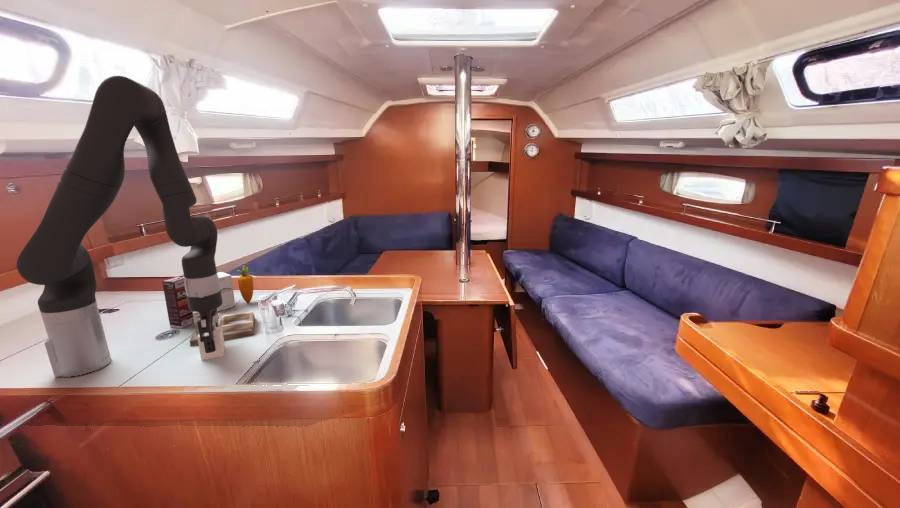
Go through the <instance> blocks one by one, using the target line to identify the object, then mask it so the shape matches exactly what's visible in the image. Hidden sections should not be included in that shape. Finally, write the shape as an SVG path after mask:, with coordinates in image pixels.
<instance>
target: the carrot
mask: <svg viewBox="0 0 900 508" xmlns="http://www.w3.org/2000/svg"><path fill="white" fill-rule="evenodd" d="M248 271H249V267H248V266H247V267H246V265H242V270H240V269H237V270H236V272H238V273H240V274H241V275H240V276H239V277H238V278H237V283H238V288H239V292H240V295H241V297H242V298H243V300H244V301H245V303H246V304H248V303H249V304H250V303H251V302H252V299H253V294H254V277H253V275H251V274H248Z"/></svg>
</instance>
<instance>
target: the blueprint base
mask: <svg viewBox="0 0 900 508" xmlns="http://www.w3.org/2000/svg"><path fill="white" fill-rule="evenodd" d="M198 316H200V315H199V312H193V319H194V323H193V324H194V330H193V332H192V335H191V337H190V340H189V345H190V347H192V346H193V347H194V346H197V345H198V346H199V344H198V338H197V337H198V334H199V329H198V324H197V322H198ZM255 320H256V317H255V314H254V311H253V310H251V311H246V312H238V313H232V314H224V315H221V318H220V319H219V320H218V322H219V323H218V326H222V330H223V336H224V341H227V339H228V340H233V339H238V338H244V337H249V336H253V335H254V334H255V331H254V330H255V322H254V321H255Z"/></svg>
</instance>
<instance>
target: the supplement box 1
mask: <svg viewBox="0 0 900 508" xmlns="http://www.w3.org/2000/svg"><path fill="white" fill-rule="evenodd" d="M161 283H162V288H163V293H164V300H165V305H166V311H167V316H168V322H169V326H170V328H174V329H175V328H176V329H183V328H185V327H187V326H189V325H192V324H194V319H193V311H191V310H189V307H188V301H187V296H186V291H185V279H184V274H182V275H179V276H176V277H172V278H169V279H165V280H162V282H161Z"/></svg>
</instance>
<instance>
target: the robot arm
mask: <svg viewBox="0 0 900 508" xmlns="http://www.w3.org/2000/svg"><path fill="white" fill-rule="evenodd" d="M134 127H135V130H136V131H137V133H138V134H139V136H140V138H141V139H142V142H143V144H144V147H145V151H146V156H147V157H146V158H147V167H148V168H147V169H148V174H149V177H150V181H151V183H152V185H153V188H154V190H155V192H156V194H157V197H158V198H159V200H160V202H161V204H162V213H163V221H164V227H165V231H166V234H167V236H168V237H169V239H170V240H171V241H172V242H173V243H174V244H175V245H177V246H179V247H182V248H183V247H185V248H186V247H190V250H189V251H188V252H187V253H186V254H184V255H183V256H182V258H181V268H182V273H183V275H184V279H185V291H186V296H187V301H188V307H189V310H191V311H193V312H199V315H200V316H198V322H197V324H198V329H199V335H200V341H201V342H204V347H205V352H206V353H211V352H214V351H215V350H216V348H215V342H214V331H215V330H216V327H218V323H219V322H218V320H220V316H219V313H218V312H219V311H218V312H217V308H218V307H220V306H221V305H222V303H223V301H222V295H221V288H220V282H219V278H218V275H217V273H218V272H217V266H216V261H215V260H216V258H215V256H216V252H217V243H218V230H217V226H216V224H215V222H214V221H213V220H212V219H211V218H210V217H208V216H206V215H194V216H191V212H190V211H191V210H190V208H191V207H193V206H195V205H196V204H197V201H198V200H197V196H196V194H195V193H194V192H195V191H194V189H193V188H192V185H191V183H190V180H189V179H188V176H187V173H186V172H185V170H184V167H183V164H182V162H181V160H180V156H179V153H178V150H177V148H176V145H175V142H174V138H173V135H172V132H171V128H170V124H169V118H168V115H167V111H166V107H165V104H164V102H163V100H162V98H161V97H160V96H159V94H158V93H157V92H155V91H154V90H153V89H151V88H150V87H148V86H146V85H144V84H141V82H137V81H135V80H134V79H132V78H131V77H130V78H129V77H127V76H123V75H112V76H109V77H106V78H105V79H103V80H102V81H101V82H100V84H99V85H98V86H97V88H96V90H95V93H94V96H93V100H92V104H91V107H90V109H89V114H88V118H87V121H86V124H85V127H84V129H83V131H82V133H81V135H80V137H79V139H78V142H77V143H76V146H75V148H74V151H73V154H72V155H71V157H70V159H69V160H68V163H66V166H65V168H64V170H63V172H62V174H61V176H60V179H59V181H58V183H57V186H56V188H55V191H54V192H53V195H52V197H51V199H50V200H49V201H50V202H49V204H48V205H47V208H46V210H45V212H44V215H43V217H42V219H41V221H40V223H39V225H38V226H37V228H36V229H35V231H34V233H33V234H32V236H31V237H30V239H29V240H28V241H27V243H26V245H24V247H23V249H22V250H21V251H20V253H19V255H18V257H17V259H16V271H17V273H18V274H19V276H20V277H21V278H22V279H23V280H25V281H26V282H28V283H29V284H33V285H38V286H44V288H43V291H42V293H41V294H40V296H39V298H38V300H37V305H38V309H39V312H40V315H41V318H42V322H43V325H44V328H45V331H46V334H47V338H48V339H47V340H46V341H45V342H44V347H45V349H46V354H47V356H48V360H49V363H50V366H51V370H52V373H53V375H54V378H59V377H60V376H61V377H63V378H72V377H71V376H75V377H79V376H78V375H80V376H83V375H82V374H84V375H87V374H86V373H88V374H90V373H89V372H91V373H93V371H94V372H97V371H98V370H101V369H102V368H104V367H106V366H107V365H109V364H110V363H111V361H112V358H111V357H112V356H111V353H110V349H109V345H108V342H107V336H106V334H105V330H104V326H103V323H102V318H101V315H100V311H99V307H98V303H97V299H96V298H97V297H96V292H97V280H96V274H95V269H94V264H93V260H92V257H91V254H90V253H89V251H88V249H87V248H86V247H85V246H84V245H82V242H83V239H84V238H85V236H86V235H87V233H88V232H89V231H90V229H91V228H92V227H93V226H94V225H95V224H96V223H97V222H98V221H99V219H100V218H102V216H103V215H104V214H105V213H107V211H108V210H109V208H110V207H111V205H113V202H114V201H115V199H116V197H117V195H118V194H119V192H120V190H121V187H122V185H123V183H124V179H125V175H126V172H125V171H126V170H125V169H126V165H125V145H126V143H127V140H128V138H129V135H130V134H131V132H132V130H133V128H134ZM205 333H209V336H205ZM61 377H60V378H61Z"/></svg>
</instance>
